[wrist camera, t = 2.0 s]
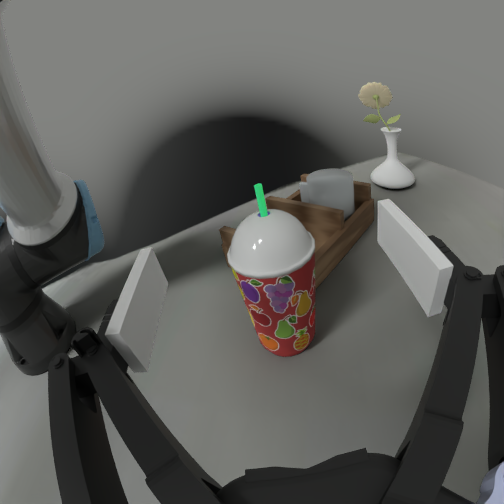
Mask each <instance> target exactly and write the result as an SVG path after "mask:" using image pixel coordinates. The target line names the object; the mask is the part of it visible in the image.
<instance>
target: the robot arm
mask: <svg viewBox="0 0 504 504" xmlns="http://www.w3.org/2000/svg"><path fill="white" fill-rule="evenodd" d="M10 1H11V0H0V207H1V208H2V209H3V210H4V212H5V213H6V214H7V222H4V219H3V218H2V217H1V216H0V335H1V337H2V339H3V341H4V344H5V346H6V348H7V350H8V352H9V354H10V357H11V359H12V361H13V362H14V364H15V365H16V366H17V367H18V368H19V369H20V370H21V371H22V372H23V373H24V374H27V375H38V374H41V373H43V372H45V371H47V370H48V394H49V416H50V429H51V439H52V448H53V456H54V463H55V469H56V475H57V480H58V485H59V490H60V495H61V499H62V504H128V501H127V499H126V496H125V493H124V490H123V487H122V484H121V481H120V478H119V475H118V472H117V469H116V466H115V462H114V459H113V455H112V452H111V448H110V444H109V441H108V437H107V433H106V429H105V424H104V420H103V415H102V411H101V406H100V401H99V397H100V399H101V401H102V403H103V405H104V407H105V409H106V411H107V413H108V415H109V416H110V418H111V420H112V422H113V424H114V425H115V427H116V429H117V431H118V432H119V434H120V436H121V437H122V439H123V441H124V442H125V444H126V446H127V447H128V449H129V450H130V452H131V454H132V455H133V457H134V458H135V460H136V461H137V463H138V464H139V466H140V467H141V469H142V470H143V472H144V473H145V475H146V477H147V478H146V479H145V481H146V484H147V485H148V487H149V488H150V490H151V491H152V492H153V494H154V495H155V496H156V498H157V499H158V500H159V502H160V503H161V504H474V503H473V502H471V501H469V500H467V499H465V498H463V497H461V496H459V495H457V494H456V493H454V492H452V491H450V490H448V489H447V488H445V487H443V486H441V485H442V483H443V481H444V479H445V476H446V474H447V472H448V469H449V467H450V464H451V461H452V459H453V456H454V454H455V451H456V448H457V445H458V442H459V439H460V436H461V433H462V429H463V421H462V415H463V411H464V408H465V404H466V400H467V396H468V392H469V388H470V384H471V379H472V374H473V369H474V364H475V359H476V353H477V347H478V340H479V333H480V324H481V318H482V323H483V329H484V336H485V344H486V352H487V362H488V375H489V395H490V427H489V446H488V467H489V472H488V473H487V474H486V475H485V477H484V479H483V481H482V485H481V486H480V497H479V499H478V501H477V502H476V504H504V265H502V266H499V267H497V269H496V271H495V274H494V275H483V274H482V273H481V271H479V270H478V269H477V268H474V267H471V266H465V265H464V264H463V263H462V262H461V261H460V260H459V258H458V257H457V256H456V255H455V254H454V253H453V252H451V250H450V249H449V248H448V247H447V246H446V245H445V244H444V242H443V241H442V240H440V239H439V238H437V237H435V236H433V235H432V236H428V237H427V236H426V235H425V234H424V233H423V232H422V231H421V230H420V229H419V228H418V227H417V225H416V224H415V223H414V222H413V221H412V220H411V219H410V218H409V217H408V216H407V215H406V214H404V213H403V212H402V211H401V210H400V209H399V208H398V207H397V206H396V205H395V204H394V203H393V202H392V201H391V200H390V199H386V200H380V201H378V234H377V242H378V243H379V245H380V246H381V247H382V249H383V250H384V252H385V253H386V254H387V256H388V257H389V259H390V260H391V261H392V263H393V264H394V266H395V267H396V269H397V270H398V272H399V273H400V275H401V276H402V277H403V279H404V280H405V282H406V283H407V285H408V286H409V288H410V290H411V291H412V293H413V294H414V296H415V297H416V299H417V300H418V302H419V304H420V305H421V307H422V308H423V310H424V312H425V313H426V315H427V316H428V317H430V316H433V315H436V314H439V313H441V311H442V308H443V305H444V304H445V306H446V307H447V308H448V310H447V313H446V316H445V319H444V322H443V325H444V326H443V330H442V334H441V338H440V342H439V345H438V349H437V353H436V356H435V359H434V363H433V366H432V369H431V372H430V375H429V378H428V381H427V384H426V387H425V390H424V393H423V395H422V398H421V401H420V403H419V406H418V409H417V411H416V414H415V416H414V418H413V421H412V423H411V426H410V428H409V430H408V432H407V435H406V437H405V439H404V441H403V443H402V444H401V446H400V448H399V450H398V452H397V454H396V456H395V457H392V456H388V455H385V454H379V453H367V450H366V448H363V449H360V450H356V451H352V452H348V453H345V454H340V455H337V456H335V457H332V458H330V459H328V460H326V461H324V462H322V463H319V464H317V465H315V466H313V467H310V468H307V469H300V468H285V467H267V468H257V469H246V470H245V475H244V476H241V477H239V478H237V479H235V480H233V481H231V482H229V483H228V484H227V485H225V486H224V487H221V486H220V485H219V484H218V483H217V482H216V481H215V480H214V479H213V478H211V477H210V476H209V475H208V474H207V473H206V472H205V471H204V470H203V469H202V468H201V467H200V465H199V464H198V463H197V462H196V461H195V460H194V459H193V458H192V457H191V455H190V454H189V453H188V452H187V451H186V450H185V449H184V447H183V446H182V445H181V444H180V443H179V442H178V440H177V439H176V438H175V437H174V435H173V434H172V433H171V432H170V431H169V429H168V428H167V427H166V426H165V424H164V423H163V422H162V420H161V419H160V418H159V416H158V415H157V414H156V413H155V411H154V410H153V409H152V407H151V406H150V404H149V403H148V402H147V400H146V399H145V397H144V396H143V395H142V393H141V392H140V390H139V389H138V387H137V386H136V385H135V383H134V382H133V380H132V379H131V377H130V376H129V374H128V373H127V368H128V366H129V367H130V368H131V369H132V371H133V372H134V373H135V372H148V368H149V363H150V358H151V354H152V349H153V345H154V340H155V336H156V332H157V327H158V323H159V319H160V315H161V311H162V307H163V303H164V299H165V295H166V291H167V288H168V282H167V279H166V277H165V275H164V273H163V271H162V269H161V266H160V264H159V262H158V260H157V257H156V255H155V253H154V250H153V248H152V247H150V248H146V249H142V250H140V252H139V254H138V256H137V259H136V261H135V263H134V265H133V267H132V270H131V272H130V274H129V276H128V279H127V281H126V283H125V286H124V288H123V290H122V293H121V295H120V297H119V299H117V300H114V301H113V302H112V303H111V304H110V306H109V307H108V309H107V311H106V313H105V316H104V318H103V322H102V323H101V326H100V328H99V331H98V333H97V334H96V333H95V331H94V330H93V329H92V328H89V327H87V328H83V329H81V330H79V331H78V332H77V333H76V334H75V331H76V326H75V322H74V320H73V319H72V317H71V316H70V314H69V313H68V312H67V311H66V310H65V309H64V308H63V307H62V306H60V305H59V304H58V303H56V302H55V301H54V300H52V299H51V298H50V297H48V296H47V295H46V294H45V293H44V292H43V291H42V289H41V288H40V286H41V285H43V284H44V283H46V282H48V281H50V280H51V279H53V278H54V277H56V276H58V275H60V274H61V273H63V272H65V271H67V270H68V269H70V268H72V267H74V266H76V265H77V264H79V263H81V262H83V261H87V260H89V259H90V257H91V256H93V255H95V254H96V253H98V252H100V251H101V250H102V248H103V246H104V237H103V233H102V229H101V226H100V223H99V220H98V218H97V214H96V211H95V208H94V204H93V201H92V198H91V196H90V193H89V190H88V188H87V185H86V183H85V182H84V181H83V180H78V181H76V180H75V181H73V180H72V179H71V178H70V177H69V176H68V175H67V174H65V173H62V172H58V171H56V170H55V168H54V166H53V164H52V161H51V159H50V157H49V155H48V153H47V151H46V149H45V146H44V144H43V142H42V140H41V137H40V135H39V133H38V130H37V128H36V125H35V123H34V120H33V118H32V116H31V113H30V110H29V108H28V105H27V102H26V100H25V97H24V94H23V91H22V89H21V85H20V83H19V80H18V76H17V73H16V70H15V67H14V64H13V60H12V57H11V53H10V50H9V46H8V42H7V38H6V34H5V30H4V26H3V21H2V17H3V13H4V11H5V9H6V8H7V6H8V4H9V3H10ZM70 346H72V347H73V349H74V350H75V351H76V352H77V353H78V355H79V356H76V357H74V358H71V359H70V358H69V356H68V355H67V354H66V352H67V351H68V349H69V348H70Z"/></svg>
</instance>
